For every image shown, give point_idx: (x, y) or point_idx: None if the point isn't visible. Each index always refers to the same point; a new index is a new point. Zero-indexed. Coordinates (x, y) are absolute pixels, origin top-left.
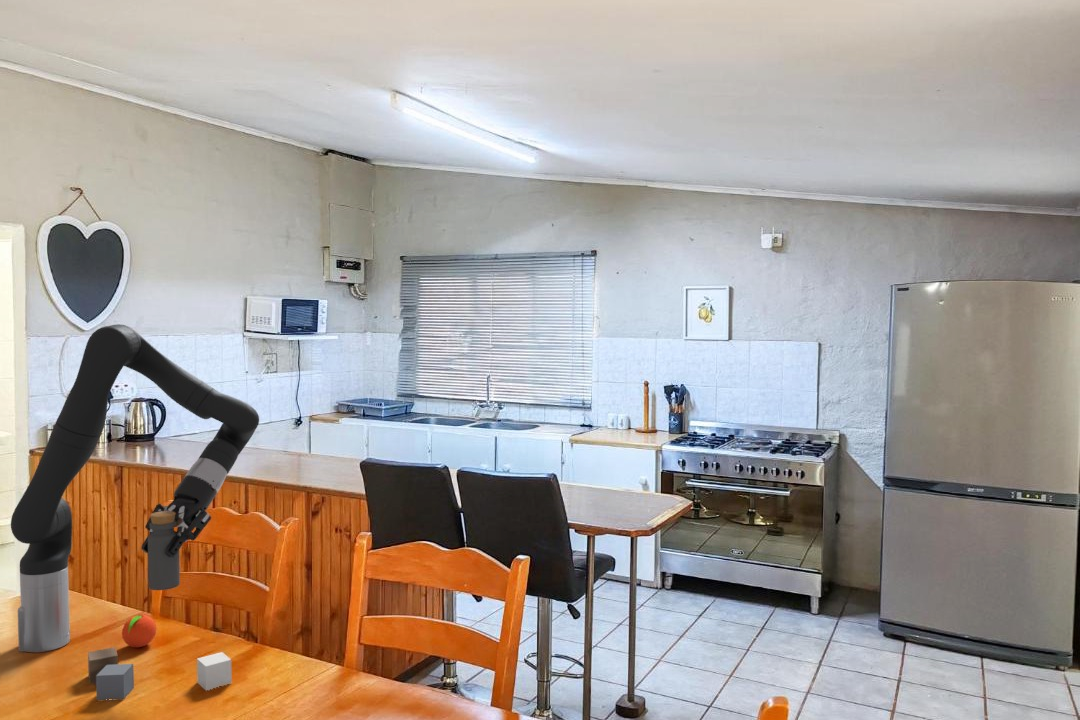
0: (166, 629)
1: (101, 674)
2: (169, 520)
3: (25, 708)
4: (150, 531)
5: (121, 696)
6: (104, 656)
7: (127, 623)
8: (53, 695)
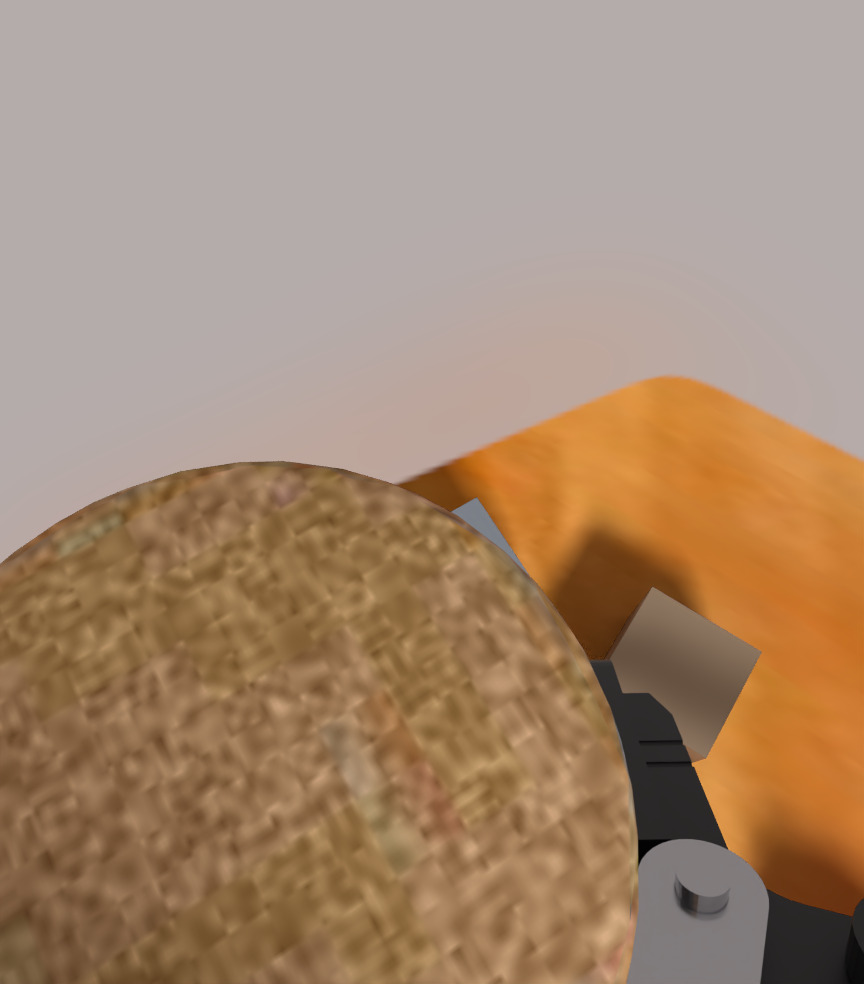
0: None
1: (466, 513)
2: None
3: (646, 399)
4: (694, 840)
5: None
6: (638, 649)
7: None
8: (663, 498)
